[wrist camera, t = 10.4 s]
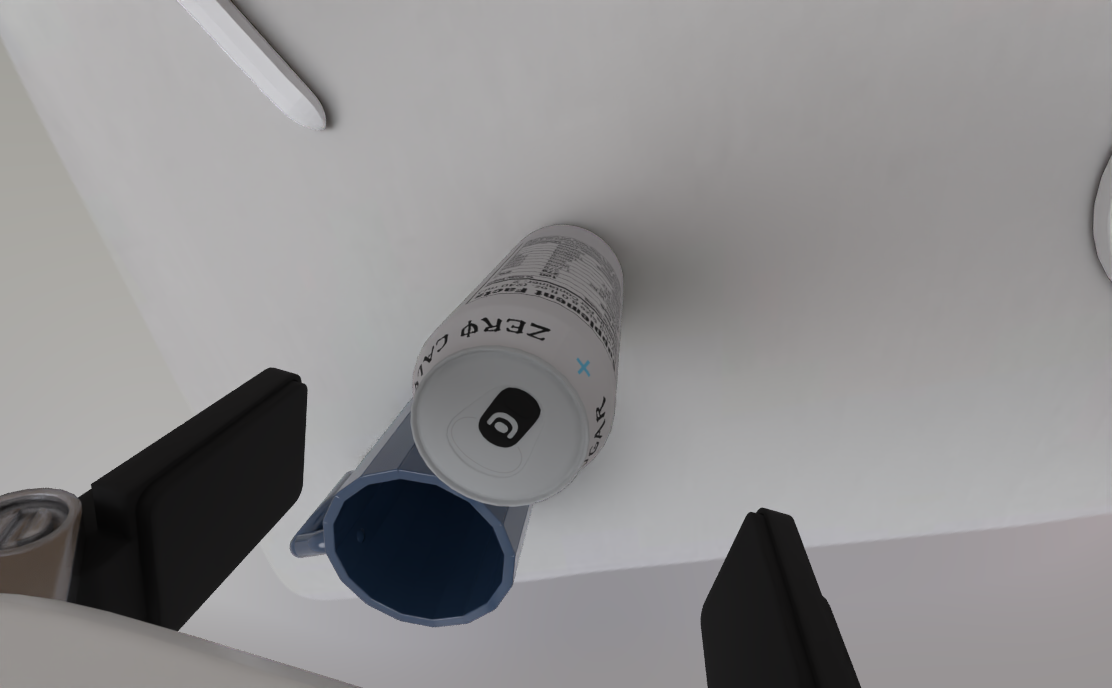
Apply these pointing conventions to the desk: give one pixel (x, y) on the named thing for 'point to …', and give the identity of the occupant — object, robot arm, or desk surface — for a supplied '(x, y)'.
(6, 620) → the robot arm
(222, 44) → the pen
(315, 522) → the mug
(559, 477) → the energy drink can
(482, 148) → the desk surface
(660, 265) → the desk surface
